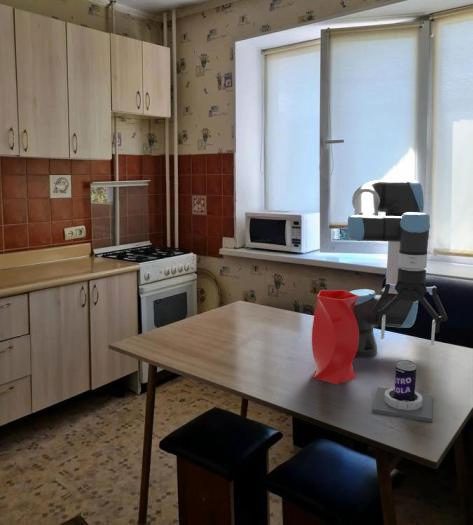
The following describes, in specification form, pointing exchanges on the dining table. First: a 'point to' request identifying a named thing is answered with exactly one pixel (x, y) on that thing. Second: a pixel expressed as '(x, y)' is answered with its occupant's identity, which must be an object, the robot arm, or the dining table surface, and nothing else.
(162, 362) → the dining table surface
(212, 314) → the dining table surface
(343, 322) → the vase
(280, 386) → the dining table surface
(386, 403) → the ring seat
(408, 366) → the beverage can
